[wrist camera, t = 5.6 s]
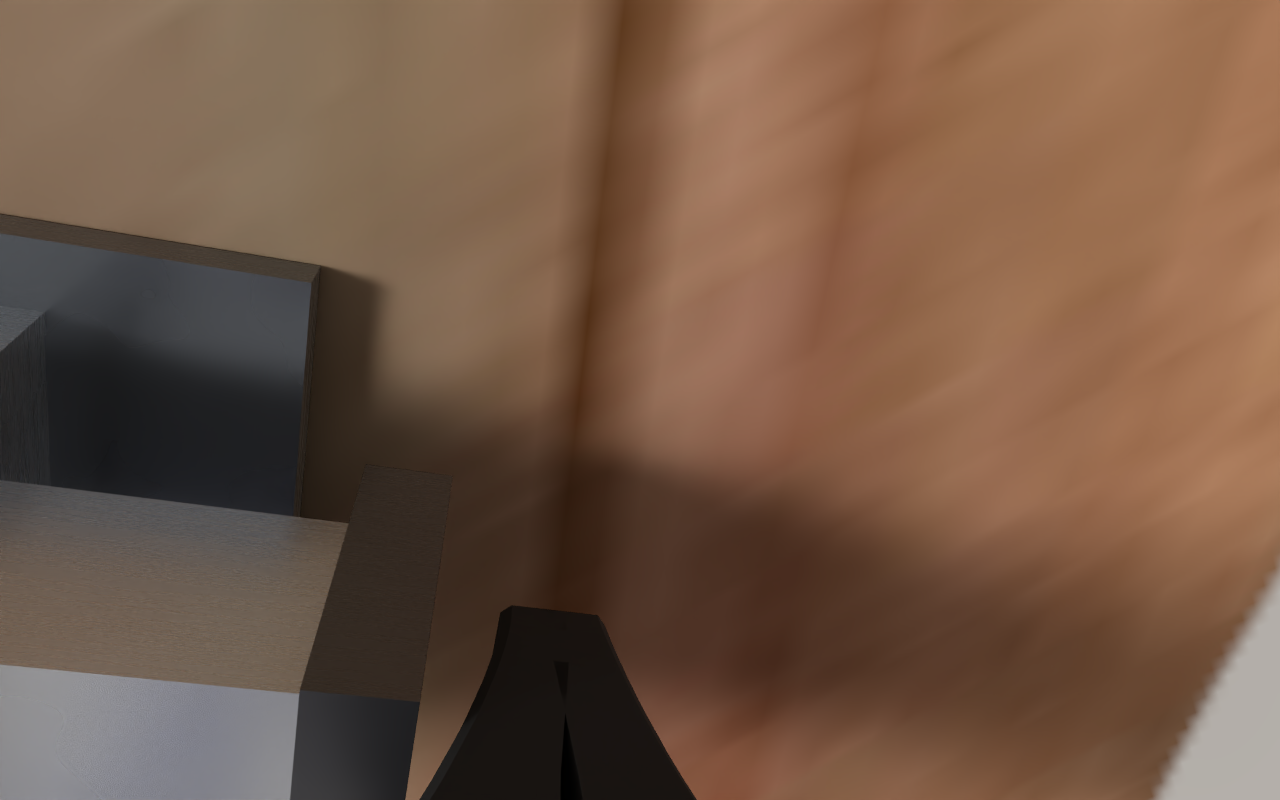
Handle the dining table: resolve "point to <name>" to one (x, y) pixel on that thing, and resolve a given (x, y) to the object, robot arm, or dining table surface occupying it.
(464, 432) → the dining table surface
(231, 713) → the shaft
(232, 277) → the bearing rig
